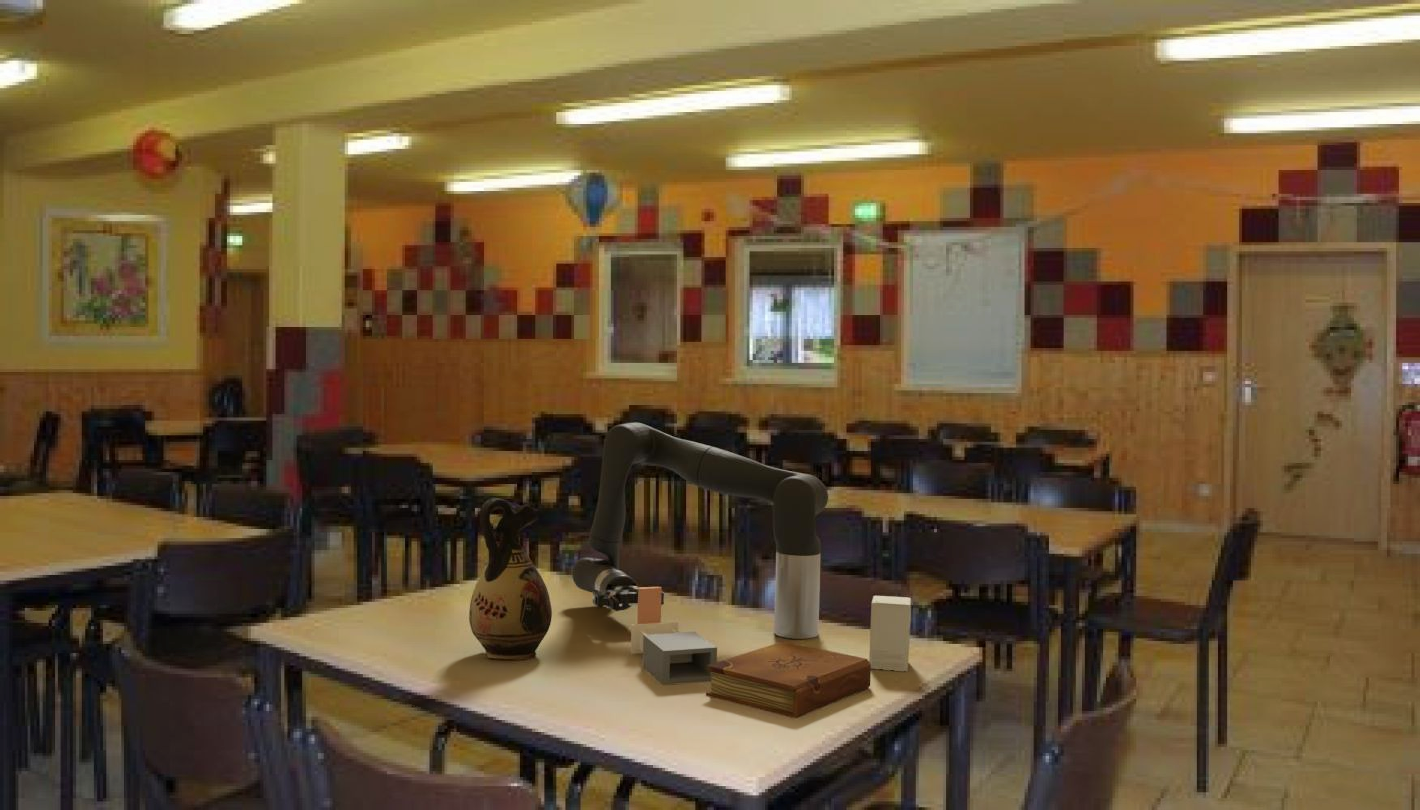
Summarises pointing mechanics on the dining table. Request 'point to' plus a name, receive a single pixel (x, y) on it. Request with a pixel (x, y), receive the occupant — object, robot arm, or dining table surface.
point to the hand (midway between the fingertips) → (638, 605)
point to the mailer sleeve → (668, 644)
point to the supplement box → (890, 633)
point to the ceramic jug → (509, 589)
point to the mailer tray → (652, 622)
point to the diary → (788, 678)
